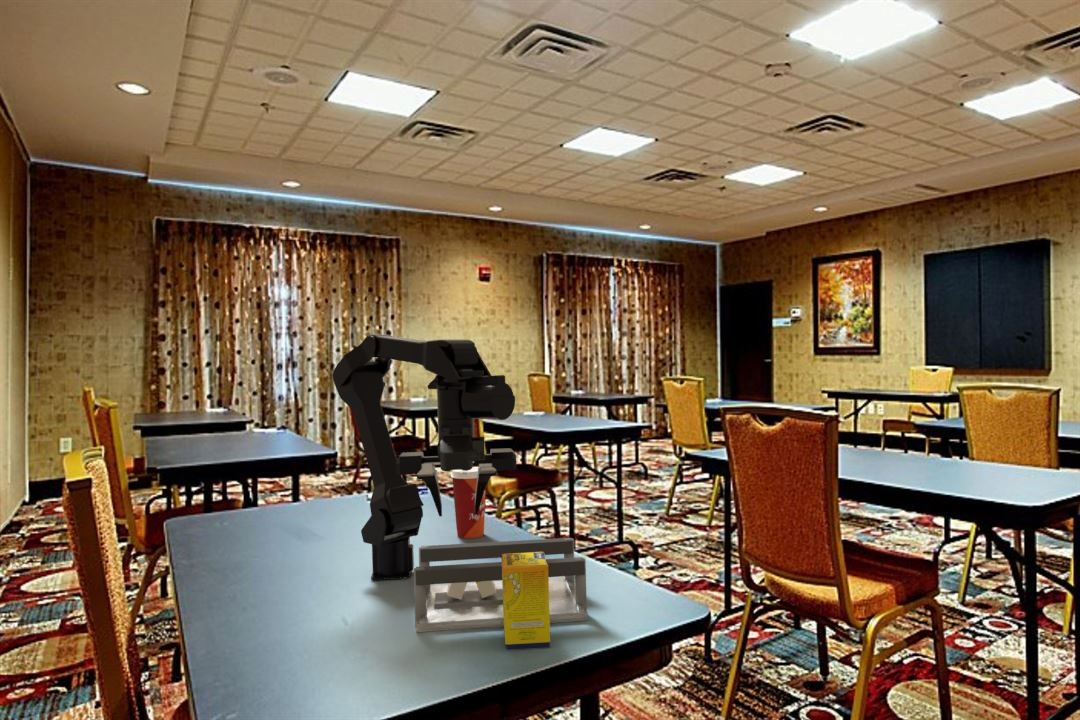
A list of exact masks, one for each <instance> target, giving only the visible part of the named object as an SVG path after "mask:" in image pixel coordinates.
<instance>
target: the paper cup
mask: <svg viewBox="0 0 1080 720" xmlns="http://www.w3.org/2000/svg"><path fill="white" fill-rule="evenodd" d="M478 468H479V466H473V468H472V469H471V470H467V471H463V470H451V471H452V473H451V474H450V477H451V479H452V491H453V500H454V502H453V503H454V515H455V516H454V517H455V523H456V526H455V527H456V534H457V537H458V538H460V539H466V540H467V539H470V540H471V539H472V540H473V539H478V538H482V537H483V536H484V533H485V517H486V516H485V514H486V512H485V511H486V489H485V490H484V493H483V497H482V500H481V504H480V508H479V511H478V514H477V515H475V495H476V485H477V474H478Z"/></svg>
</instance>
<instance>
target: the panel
mask: <svg viewBox="0 0 1080 720" xmlns="http://www.w3.org/2000/svg"><path fill="white" fill-rule="evenodd" d="M548 579H549V616H550V624H555V623H569V622H570V623H571V622H583V621H584V622H585V621H588V620H589V615H588V613H589V612H588V609H587V610H586V608H584V606H583V604H577V607H576V598H575V585H574V583H572V581H571V580H566V583H565V576H559V577H548ZM494 584H495V588H496V593H494V594H492V595H489V596H487V597H485V598H482V597H481V594H480V592H479V589H478V587H477V584H476V582H467V584H466V587H465V590H464V593H463V596H462V599H461V600H460V599H457V598H453V597H450V596H447V590H448V586H449V583H447V584H431V585H430V591H429V589H426V612H427V617H426V614H424V615H420V617H419V619H417V622H416V626H415V627H416V628H415V631H416V633H423V632H424V633H425V632H426V633H427V632H439V631H442V632H443V631H452V630H453V631H454V630H455V631H456V630H468V629H470V630H471V629H484V628H497V627H504V614H503V585H502V580H495V581H494Z"/></svg>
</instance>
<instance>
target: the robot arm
mask: <svg viewBox="0 0 1080 720" xmlns="http://www.w3.org/2000/svg"><path fill="white" fill-rule="evenodd" d="M373 358H376V359H375V360H374V359H373ZM391 360H393V361H394V360H395V361H400V362H406V363H412V364H417V365H420V366H422V367H423V368H424V369H425V370H426V371H428V372H430V373H431V374H435V377H434V378H433V379H432V381H430V382H429V384H427V389H428V390H436V396H437V397H436V399H437V400H436V402H437V404H436V405H437V432H438V433H437V435H438V436H437V438H438V442H437V455H434V456H433V455H432V456H431V455H430V456H425V455H424V452H423V451H414V452H413V451H410V452H409V451H408V452H401V453H400V454H399V455H398V457H397V456H396V452H395V449H394V446H393V443H392V439H391V436H390V432H389V428H388V425H387V421H386V419H385V414H384V412H383V408H382V405H381V400H382V398H383V397H382V396H383V393H384V389H385V382H384V377H385V376H386V375H387V373H388V372H389V371H390V369H391ZM332 381H333V383H334V386H335V388H336V392H337V393H338V395H339V396H338V397H339V398H340V399H341V400H342V401H343V402H344V403H345V404H346V405H347V406H348V408H350V409H351V410H352V412H353V416H354V419H355V422H356V426H357V429H358V433H359V436H360V440H361V443H362V444H361V445H362V448H363V451H364V454H365V455H364V456H365V459H366V462H367V465H368V469H369V474H370V477H371V479H372V483H373V490H372V495H371V497H370V502H369V508H370V517H369V518H368V520H367V521H366V522H365V524H364V525H363V527H362V529H360V534H361V538H362V541H363V543H366V544H368V545H371V557H372V558H371V559H372V574H371V576H370V581H379V580H396V579H397V580H399V579H409V578H410V577H411V573H412V572H414V567H415V563H414V562H415V561H414V560H415V558H414V553H415V552H414V544H413V543H411V540H410V538H412V537H416V536H418V535H419V531H420V528H421V523H422V519H423V517H424V512H423V506H424V503H423V501H422V498H421V496H420V492H419V487H418V485H417V484H416V483H411V484H409V483H408V482H407V481H406V480H405V479H404V478H403V476H405V475H406V476H407V475H416V479H417V480H423V482H424V483H425V484H426V487H427V488H428V491H429V492H430V495H431V498H432V499H433V502H434V505H435V508H436V511H437V514H438V516H439V517H442V516H443V505H442V504H443V503H442V497H441V491H440V484H439V477H438V470H437V469H439V468H440V470H441V471H442V472H451V471H453V470H463V471H467V470H471V469H472V468H473V467H479V468H478V474H477V485H476V495H475V515H477V514H478V511H479V508H480V504H481V500H482V497H483V493H484V490H485V491H486V488H487V486H488V483H489V481H490V479H491V478H492V477H496V476H498V471H499V472H501V471H514V470H517V454H516V452H515V451H514V450H513V449H512V448H508V447H507V448H490V452H489V453H485V452H486V450H485V449H486V447H485V436H475V423H474V422H475V419H476V420H477V419H479V420H493V421H494V420H496V421H498V420H499V421H505V420H507V419H509V417H511V415H512V414H513V412H514V410H515V405H516V396H515V395H514V392H513V389H512V388H511V386H510V385H509V384H508V383H506V375H504V374H497V375H495V374H494V375H493V374H491V372H490V370H489V368H488V367H487V365H486V363H485V362H484V360H483V358H482V357H481V355H480V353H479V352H478V349H477V347H476V343H475V342H474V341H472V340H471V339H433V340H418V339H413V338H406V337H399V336H392V335H391V334H378V333H375V334H369V335H367V336H366V337H364V339H363V340H362V342H361V343H360V344H359V345H357V346H356V347H354V348H353V349H352V350H349V352H346V354H344V355H343V356H342V358H341V359H340V361H339V362H338V363H337V365H336V366H335V367H334V369H333V371H332Z"/></svg>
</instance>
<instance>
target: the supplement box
mask: <svg viewBox="0 0 1080 720" xmlns="http://www.w3.org/2000/svg"><path fill="white" fill-rule="evenodd" d="M546 559H547V558H546V555H545V554H544V552H529V553H509V554H502V558H501V562H502V580H501V581H502V585H503V614H504V626H503V633H504V645H505V646H504V647H505V650H506V651H507V652H509V651H517V650H518V651H519V650H534V649H546V648H547V649H548V648H550V647H551V623H550V616H549V579H548V578H549V577H548V564H547V563H546Z"/></svg>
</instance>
